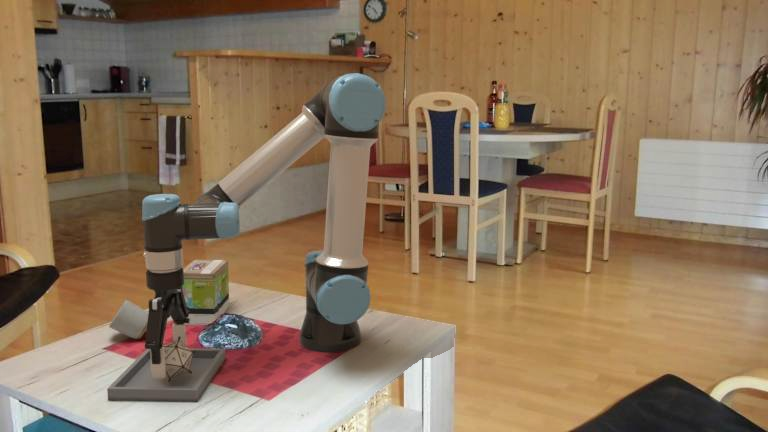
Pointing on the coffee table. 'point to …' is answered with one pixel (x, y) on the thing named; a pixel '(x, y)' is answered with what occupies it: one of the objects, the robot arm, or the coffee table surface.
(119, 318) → the soft-edged grey cube
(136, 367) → the tray
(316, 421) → the coffee table surface
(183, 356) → the game die
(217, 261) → the tea box
